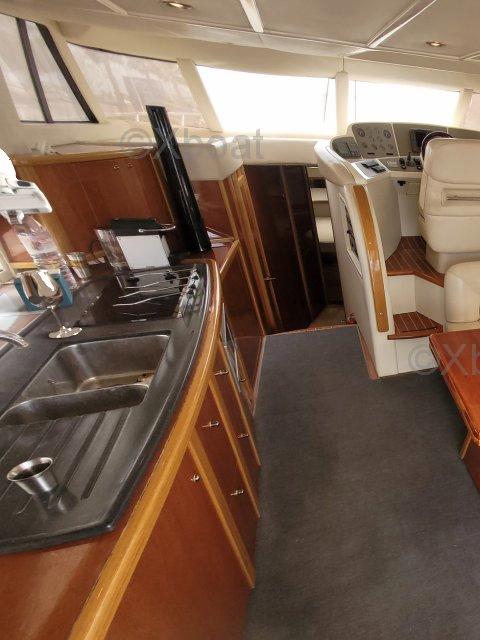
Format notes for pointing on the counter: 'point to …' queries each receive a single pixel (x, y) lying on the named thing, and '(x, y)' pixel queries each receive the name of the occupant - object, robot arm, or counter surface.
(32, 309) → the tote
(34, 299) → the wineglass
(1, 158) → the robot arm
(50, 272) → the flap
